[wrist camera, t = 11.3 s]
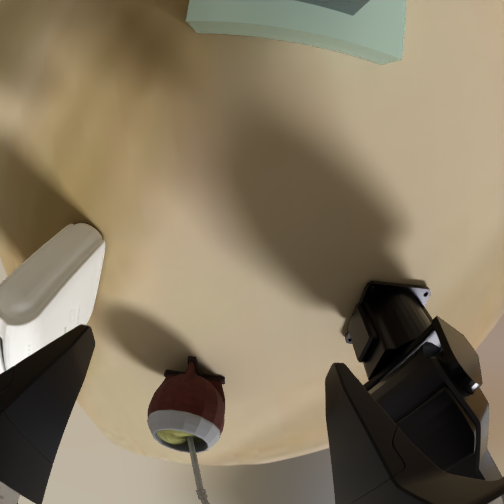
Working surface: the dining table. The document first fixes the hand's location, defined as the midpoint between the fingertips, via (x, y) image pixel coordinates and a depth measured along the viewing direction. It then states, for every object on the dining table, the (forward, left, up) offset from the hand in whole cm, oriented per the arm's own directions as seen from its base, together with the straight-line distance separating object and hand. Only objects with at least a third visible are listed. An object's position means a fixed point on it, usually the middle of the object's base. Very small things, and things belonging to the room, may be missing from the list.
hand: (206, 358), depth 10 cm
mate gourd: (+2, +17, -12) cm, 21 cm away
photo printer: (+13, +6, -12) cm, 19 cm away
